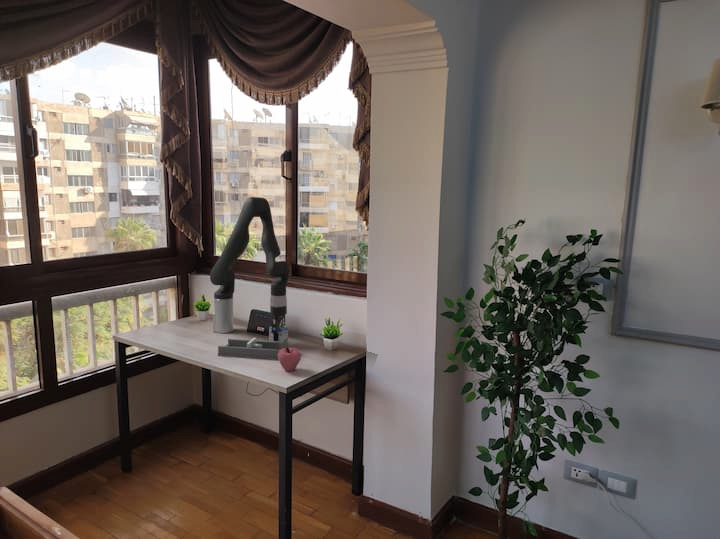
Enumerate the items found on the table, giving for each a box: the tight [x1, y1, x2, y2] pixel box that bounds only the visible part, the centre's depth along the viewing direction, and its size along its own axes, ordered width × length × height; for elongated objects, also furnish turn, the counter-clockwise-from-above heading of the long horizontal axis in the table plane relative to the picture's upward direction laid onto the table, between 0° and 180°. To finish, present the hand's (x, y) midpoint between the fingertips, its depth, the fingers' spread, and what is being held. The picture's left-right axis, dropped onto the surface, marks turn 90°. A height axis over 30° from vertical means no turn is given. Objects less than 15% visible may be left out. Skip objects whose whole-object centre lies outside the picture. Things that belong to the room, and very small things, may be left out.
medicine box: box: [268, 325, 289, 342], centre depth 247 cm, size 8×4×9 cm, turn 62°
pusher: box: [247, 337, 262, 348], centre depth 234 cm, size 5×9×4 cm, turn 172°
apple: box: [278, 346, 302, 372], centre depth 214 cm, size 10×9×10 cm
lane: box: [217, 336, 289, 361], centre depth 234 cm, size 28×13×7 cm, turn 82°
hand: (278, 338), depth 247 cm, fingers open, 8 cm apart
